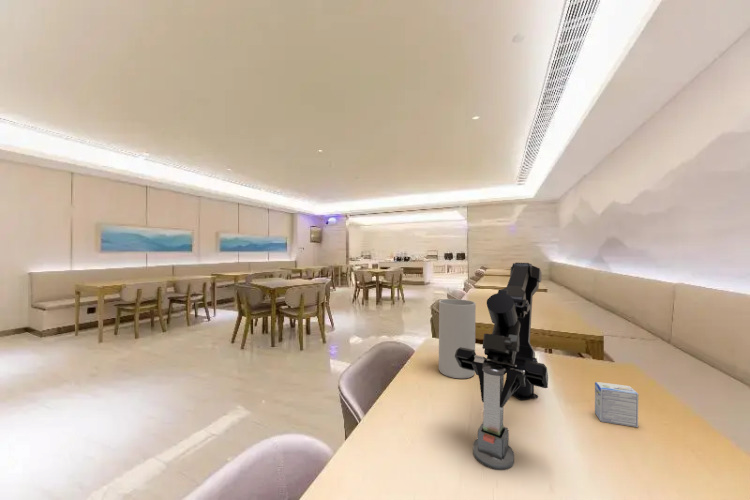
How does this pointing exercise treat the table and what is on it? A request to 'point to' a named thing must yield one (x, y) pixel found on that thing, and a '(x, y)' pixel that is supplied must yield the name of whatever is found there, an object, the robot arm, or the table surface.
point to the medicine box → (616, 404)
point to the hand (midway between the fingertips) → (491, 404)
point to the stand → (493, 449)
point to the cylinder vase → (455, 335)
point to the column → (493, 397)
